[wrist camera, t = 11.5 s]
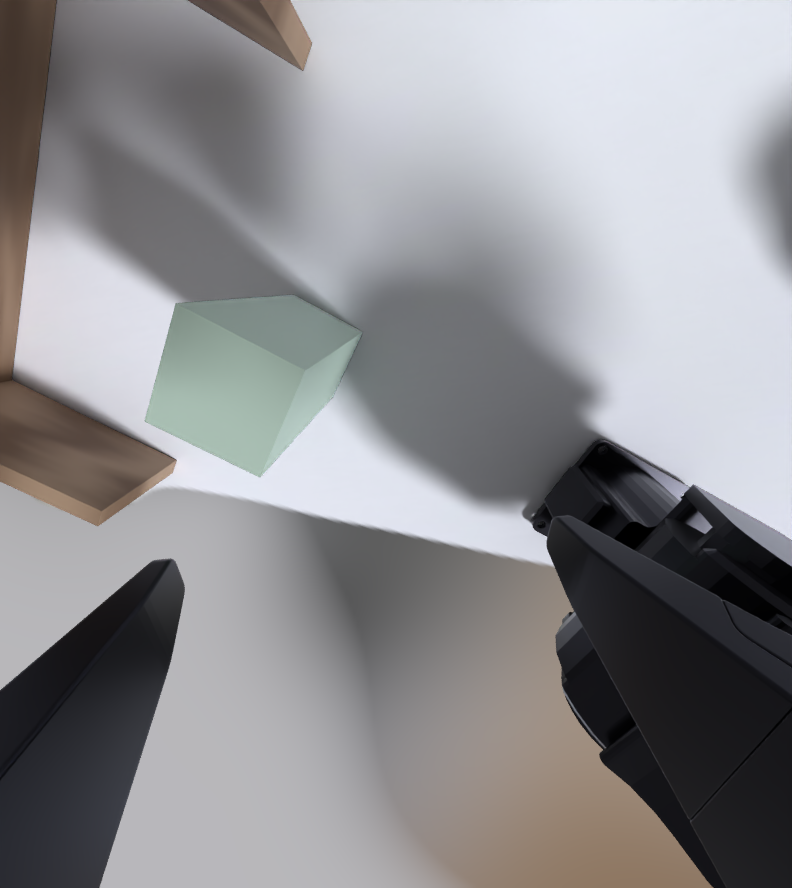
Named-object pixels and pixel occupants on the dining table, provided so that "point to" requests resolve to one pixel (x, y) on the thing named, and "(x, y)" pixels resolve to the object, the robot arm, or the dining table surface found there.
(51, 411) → the walnut u-shaped frame
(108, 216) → the dining table surface
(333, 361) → the sage block
